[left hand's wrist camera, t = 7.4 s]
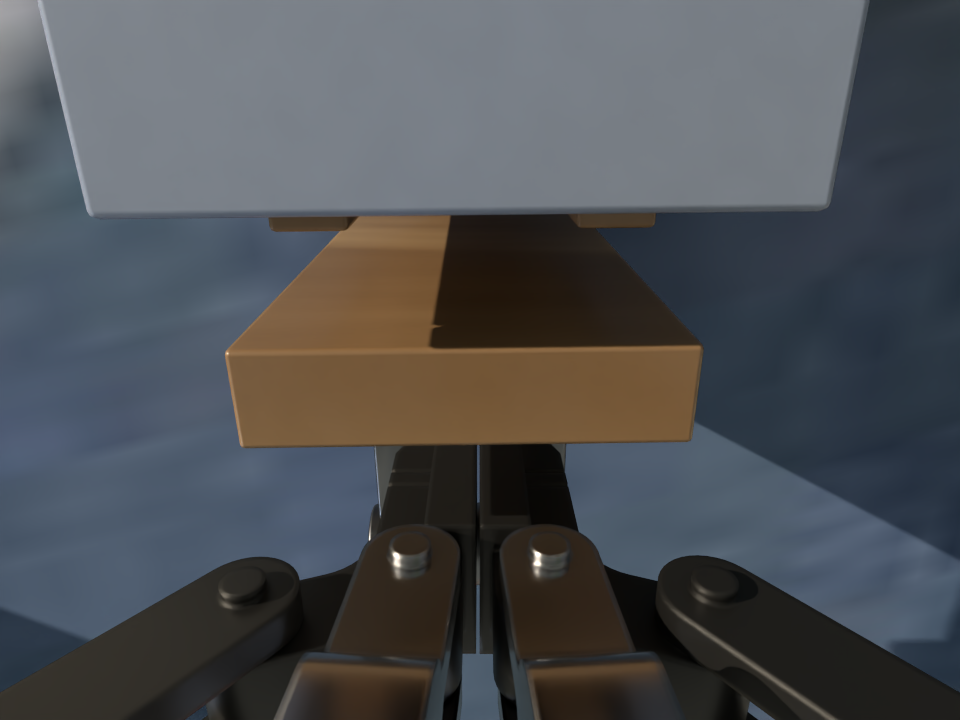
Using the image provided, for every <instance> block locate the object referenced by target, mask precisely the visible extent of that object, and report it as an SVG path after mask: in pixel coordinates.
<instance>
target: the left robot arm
mask: <svg viewBox="0 0 960 720" xmlns="http://www.w3.org/2000/svg"><path fill="white" fill-rule="evenodd" d="M476 575H477V445H434V446H403V447H402V448H401V449H400V450H399V451H398V452H397V453H396V455H395V459H394V463H393V467H392V473H391V475H390V480H389V487H388V488H387V492H386V496H385V500H384V504H383V509H382V513H381V517H380V521H379V525H378V529H377V534H376V536H374V537H373V538H372V539H370V540H369V541H368V542H367V544H366V545H365V546H364V548H363V550H362V552H361V555H360V557H359V560H358V561H356V562H355V563H353V564H352V565H350V566H348V567H346V568H344V569H341V570H339V571H336V572H333V573H329V574H326V575H321V576H317V577H313V578H308V579H304V580H299V576H298V573H297V572H296V570H295V569H294V568H293V567H292V566H291V565H290V564H288V563H286V562H284V561H282V560H279V559H276V558H270V557H250V558H245V559H240V560H236V561H233V562H230V563H227V564H225V565H222V566H220V567H219V568H217V569H215V570H213V571H211V572H209V573H208V574H206V575H204V576H202V577H201V578H199V579H197V580H195V581H194V582H192V583H190V584H188V585H187V586H185V587H183V588H181V589H180V590H178V591H176V592H175V593H173V594H171V595H169V596H168V597H166V598H164V599H162V600H161V601H159V602H157V603H155V604H154V605H152V606H150V607H148V608H147V609H145V610H143V611H141V612H140V613H138V614H136V615H134V616H133V617H131V618H129V619H128V620H126V621H124V622H122V623H121V624H119V625H117V626H115V627H114V628H112V629H110V630H108V631H107V632H105V633H103V634H101V635H100V636H98V637H96V638H94V639H93V640H91V641H89V642H87V643H86V644H84V645H82V646H81V647H79V648H77V649H75V650H74V651H72V652H70V653H68V654H67V655H65V656H63V657H61V658H60V659H58V660H56V661H54V662H53V663H51V664H49V665H47V666H46V667H44V668H42V669H41V670H39V671H37V672H35V673H34V674H32V675H30V676H28V677H27V678H25V679H23V680H21V681H20V682H18V683H16V684H14V685H13V686H11V687H9V688H7V689H6V690H4V691H2V692H0V720H185V719H186V718H188V717H189V716H190V715H192V714H193V713H195V712H196V711H197V710H199V709H200V708H201V707H203V706H204V705H205V704H206V708H207V712H208V716H206V717H205V718H204V719H202V720H460V716H461V708H462V654H476ZM480 654H493V673H494V680H495V682H496V685H497V687H498V709H499V717H500V720H758V719H756V718H755V717H754V716H752V715H751V714H750V713H748V707H749V702H752V703H753V704H755V705H756V706H757V707H759V708H760V709H761V710H763V711H764V712H765V713H767V714H768V715H770V716H771V717H772V718H774V719H775V720H960V692H958V691H956V690H954V689H953V688H951V687H949V686H947V685H946V684H944V683H942V682H940V681H939V680H937V679H935V678H933V677H932V676H930V675H928V674H926V673H925V672H923V671H921V670H919V669H918V668H916V667H914V666H913V665H911V664H909V663H907V662H906V661H904V660H902V659H900V658H899V657H897V656H895V655H893V654H892V653H890V652H888V651H886V650H885V649H883V648H881V647H879V646H878V645H876V644H874V643H872V642H871V641H869V640H867V639H866V638H864V637H862V636H860V635H859V634H857V633H855V632H853V631H852V630H850V629H848V628H846V627H845V626H843V625H841V624H839V623H838V622H836V621H834V620H832V619H831V618H829V617H827V616H826V615H824V614H822V613H820V612H819V611H817V610H815V609H813V608H812V607H810V606H808V605H806V604H805V603H803V602H801V601H799V600H798V599H796V598H794V597H792V596H791V595H789V594H787V593H785V592H784V591H782V590H780V589H779V588H777V587H775V586H773V585H772V584H770V583H768V582H766V581H765V580H763V579H761V578H759V577H758V576H756V575H754V574H752V573H751V572H749V571H747V570H745V569H744V568H742V567H740V566H738V565H736V564H734V563H731V562H729V561H726V560H723V559H719V558H715V557H710V556H699V555H696V556H685V557H680V558H677V559H674V560H672V561H670V562H669V563H667V564H666V565H665V566H664V567H663V568H662V570H661V571H660V574H659V576H658V581H655V580H650V579H646V578H641V577H637V576H633V575H629V574H625V573H621V572H619V571H616V570H613V569H611V568H609V567H607V566H605V565H603V563H602V560H601V558H600V555H599V552H598V550H597V548H596V546H595V545H594V544H593V543H592V541H591V540H589V539H588V538H587V537H586V536H584V535H583V534H581V533H580V532H579V531H578V527H577V523H576V518H575V514H574V510H573V505H572V501H571V497H570V492H569V488H568V487H567V479H566V475H565V473H564V466H563V462H562V458H561V453H560V452H559V451H558V450H557V449H556V448H555V447H554V446H552V445H551V444H505V445H480Z"/></svg>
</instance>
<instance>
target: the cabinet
mask: <svg viewBox="0 0 960 720" xmlns="http://www.w3.org/2000/svg"><path fill="white" fill-rule="evenodd" d="M37 1H38V6H39V10H40V14H41V18H42V23H43V27H44V31H45V35H46V40H47V44H48V48H49V52H50V56H51V61H52V65H53V69H54V73H55V78H56V82H57V86H58V90H59V94H60V99H61V103H62V107H63V111H64V116H65V120H66V124H67V128H68V133H69V137H70V141H71V145H72V149H73V154H74V158H75V162H76V166H77V171H78V175H79V179H80V183H81V188H82V192H83V196H84V200H85V204H86V209H87V211H88V213H89V215H90V216H92V217H95V218H98V219H175V218H265V217H354V216H444V215H533V214H623V213H713V212H802V211H820V210H823V209H826V208H828V206H829V205H830V203H831V199H832V194H833V188H834V183H835V178H836V173H837V168H838V163H839V157H840V152H841V147H842V142H843V137H844V132H845V126H846V121H847V116H848V111H849V106H850V101H851V95H852V90H853V85H854V80H855V75H856V70H857V64H858V59H859V54H860V49H861V44H862V38H863V33H864V28H865V23H866V18H867V13H868V7H869V2H870V0H37Z"/></svg>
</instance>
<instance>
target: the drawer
mask: <svg viewBox="0 0 960 720" xmlns="http://www.w3.org/2000/svg"><path fill="white" fill-rule="evenodd" d="M268 218H269V226H270V228H271V230H273V231H275V232H291V231H340V232H339V233H338V234H337V235H336V236H335V237H334V238H333V239H332V240H331V241H330V243H329V244H328V245H327V246H326V247H325V248H324V249H323V250H322V251H321V252H320V253H319V254H318V255H317V256H316V257H315V258H314V259H313V260H312V261H311V262H310V263H309V265H308V266H307V267H306V268H305V269H304V270H303V271H302V272H301V273H300V274H299V275H298V276H297V277H296V278H295V279H294V280H293V281H292V282H291V283H290V284H289V285H288V287H287V288H286V289H285V290H284V291H283V292H282V293H281V294H280V295H279V296H278V297H277V298H276V299H275V300H274V301H273V302H272V303H271V304H270V305H269V306H268V307H267V309H266V310H265V311H264V312H263V313H262V314H261V315H260V316H259V317H258V318H257V319H256V320H255V321H254V322H253V323H252V324H251V325H250V326H249V327H248V328H247V329H246V330H245V332H244V333H243V334H242V335H241V336H240V337H239V338H238V339H237V340H236V341H235V342H234V343H233V344H232V345H231V346H230V347H229V348H228V349H227V350H226V353H225V358H226V364H227V370H228V376H229V381H230V387H231V393H232V399H233V405H234V411H235V417H236V422H237V428H238V434H239V440H240V445H241V446H242V447H243V448H291V447H362V446H374V454H375V467H376V479H377V491H378V503H379V504H376V505H375V506H374V507H373V510H372V513H371V518H370V525H369V535H368V541H369V540H370V539H372V538H373V537H374V536H376V534H377V529H378V525H379V521H380V517H381V513H382V509H383V504H384V500H385V496H386V492H387V488H388V487H389V480H390V475H391V473H392V467H393V463H394V459H395V455H396V453H397V452H398V451H399V450H400V449H401V448H402V447H403V446H434V445H505V444H551V445H552V446H554V447H555V448H556V449H557V450H558V451H559V452H560V453H561V458H562V462H563V466H564V473H565V457H566V444H576V443H647V442H688V441H691V439H692V434H693V427H694V419H695V411H696V404H697V396H698V388H699V381H700V373H701V366H702V358H703V350H704V348H703V345H702V344H701V343H700V342H699V340H698V339H697V338H696V337H695V336H694V335H693V334H692V333H691V332H690V331H689V330H688V329H687V327H686V326H685V325H684V324H683V323H682V322H681V321H680V320H679V319H678V318H677V317H676V315H675V314H674V313H673V312H672V311H671V310H670V309H669V308H668V307H667V306H666V305H665V304H664V302H663V301H662V300H661V299H660V298H659V297H658V296H657V295H656V294H655V293H654V292H653V291H652V289H651V288H650V287H649V286H648V285H647V284H646V283H645V282H644V281H643V280H642V279H641V278H640V276H639V275H638V274H637V273H636V272H635V271H634V270H633V269H632V268H631V267H630V266H629V265H628V263H627V262H626V261H625V260H624V259H623V258H622V257H621V256H620V255H619V254H618V253H617V252H616V250H615V249H614V248H613V247H612V246H611V245H610V244H609V243H608V242H607V241H606V240H605V239H604V237H603V236H602V235H601V234H600V233H599V232H598V231H597V230H596V229H595V228H647V227H652V226H654V224H655V219H656V213H623V214H533V215H444V216H354V217H268ZM476 585H480V503H477V575H476Z"/></svg>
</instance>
